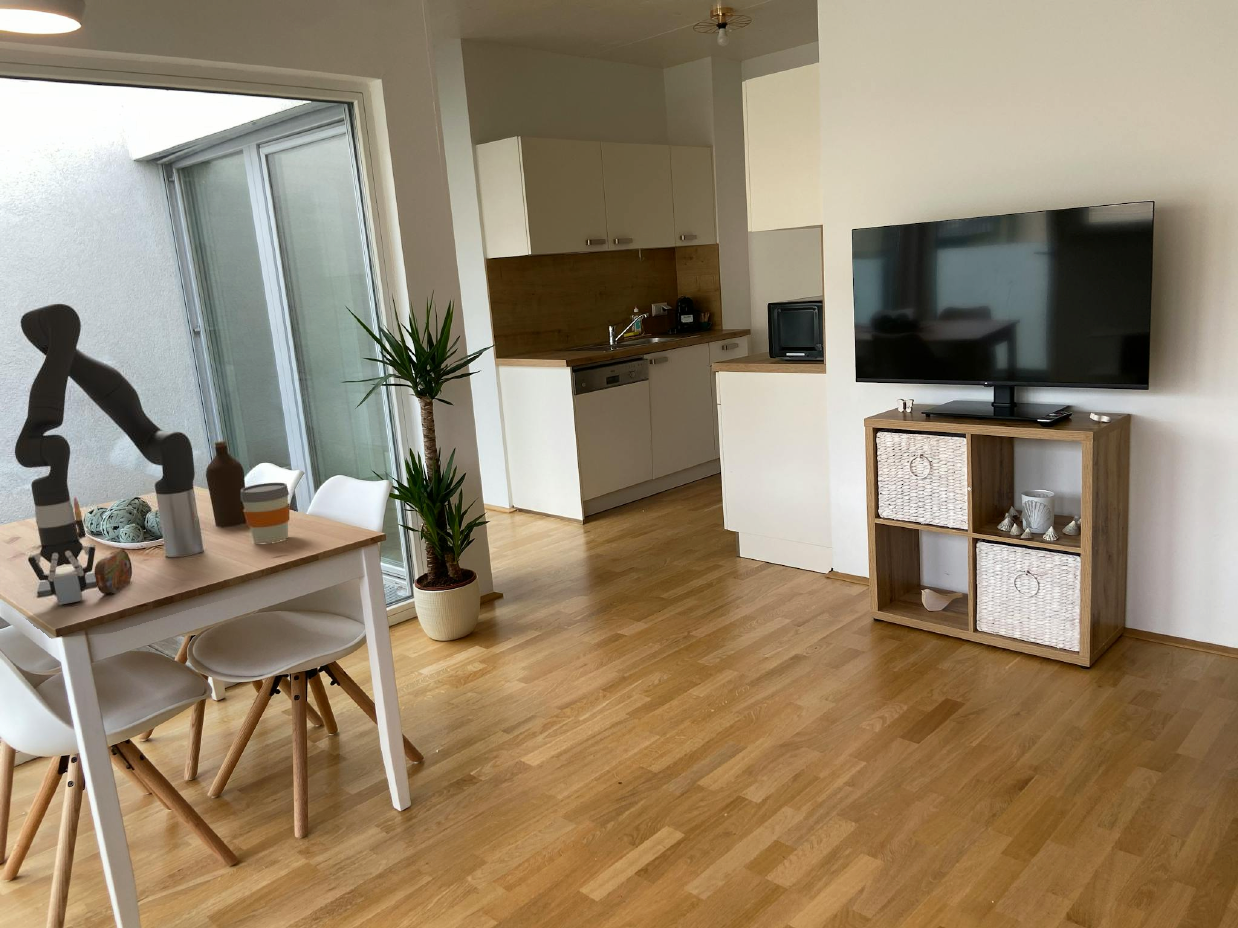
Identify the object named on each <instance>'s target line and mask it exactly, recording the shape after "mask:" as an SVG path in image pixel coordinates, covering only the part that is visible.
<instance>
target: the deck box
mask: <svg viewBox="0 0 1238 928" xmlns="http://www.w3.org/2000/svg"><path fill="white" fill-rule="evenodd" d="M53 580H54V586H55V591H56V596H55V597H56V600H57V605H58V606H60V605H65V604H66V605H67V604H70V603H75V602H81V601H82V597H83V596H82V595H83V592H81V590H80V585H79V579H78V573H77V571H76V570H75V569H74V568H73V566H72V565H70V566H69V565H68V566H65V567H64V566H63V567H58V568H56V573H55V575H54V578H53Z"/></svg>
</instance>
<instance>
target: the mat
mask: <svg viewBox="0 0 1238 928" xmlns="http://www.w3.org/2000/svg"><path fill="white" fill-rule="evenodd" d="M85 578H86V583H87V586H86V588H85V589H88V588H93V587H98V586H97V582H96V578H95V574H94V572H92V573H86V574H85ZM36 594H37V597H38V598H39V597H45V596H50V595H53V594H52V593H51V588H50V583H49V581H47V580H43V581H40V582H39V584H38V587H37V590H36Z"/></svg>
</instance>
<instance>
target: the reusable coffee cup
mask: <svg viewBox="0 0 1238 928" xmlns="http://www.w3.org/2000/svg"><path fill="white" fill-rule="evenodd" d="M289 495H290V492H289V488H288V485H287V483H285V482H265V483H258V484H252V485H249V486H245V488H243V489H241V501H242V502H243V505H244V508H245V509H244V510H243V511H244V514H245V518H246V521H247V522H246V526H247V527H249V529H250V532H251V537H252V540H253V543H254V544H255V543H272V542H277V541H280V540H284V539H286V538H287V537H289V521H290V503H289ZM287 539H288V538H287ZM287 539H286V540H287ZM284 541H285V540H284ZM277 543H278V542H277ZM272 544H273V543H272Z"/></svg>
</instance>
